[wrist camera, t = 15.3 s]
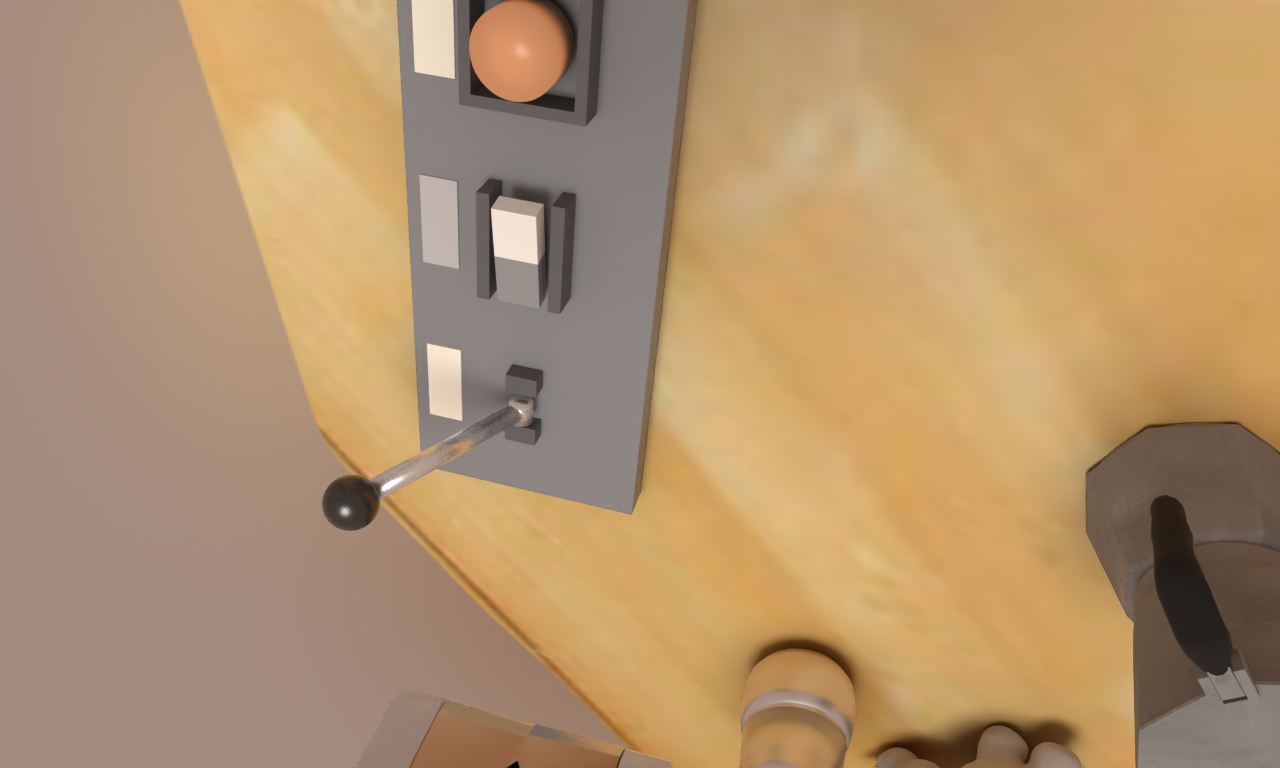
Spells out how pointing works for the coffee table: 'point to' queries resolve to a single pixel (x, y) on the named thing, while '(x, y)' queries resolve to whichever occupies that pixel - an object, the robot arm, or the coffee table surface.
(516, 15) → the push button
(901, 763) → the round bodied animal figurine
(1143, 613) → the coffeepot
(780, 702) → the plastic bottle
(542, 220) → the rocker switch
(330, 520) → the toggle lever
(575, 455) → the control panel
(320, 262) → the coffee table surface
